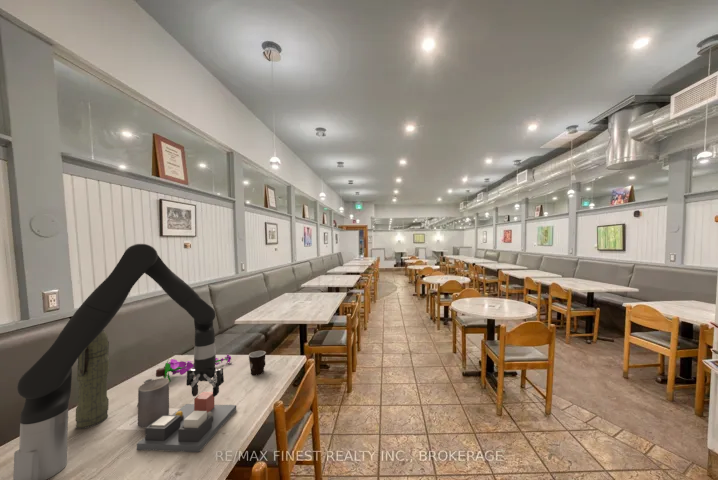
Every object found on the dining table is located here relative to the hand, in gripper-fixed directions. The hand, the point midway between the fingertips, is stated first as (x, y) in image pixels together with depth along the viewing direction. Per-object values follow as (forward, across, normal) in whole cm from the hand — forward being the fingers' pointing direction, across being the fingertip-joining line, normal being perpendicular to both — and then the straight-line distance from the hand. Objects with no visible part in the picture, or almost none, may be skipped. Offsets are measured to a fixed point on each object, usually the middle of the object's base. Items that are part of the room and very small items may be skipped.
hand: (205, 395), depth 103 cm
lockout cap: (+6, 0, 0) cm, 6 cm away
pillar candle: (+8, +19, +3) cm, 21 cm away
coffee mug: (+8, -5, -35) cm, 36 cm away
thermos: (+8, +43, +5) cm, 44 cm away
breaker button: (+3, -6, +13) cm, 15 cm away
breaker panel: (+8, 0, +7) cm, 11 cm away
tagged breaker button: (+5, +6, +13) cm, 16 cm away
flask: (+8, +31, -7) cm, 33 cm away
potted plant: (+8, +31, -36) cm, 49 cm away
